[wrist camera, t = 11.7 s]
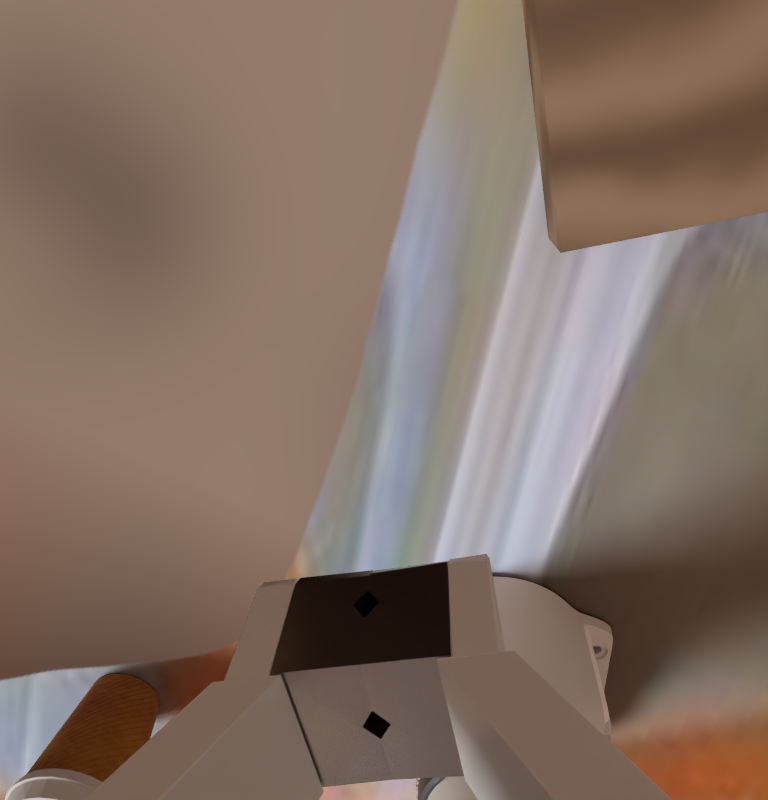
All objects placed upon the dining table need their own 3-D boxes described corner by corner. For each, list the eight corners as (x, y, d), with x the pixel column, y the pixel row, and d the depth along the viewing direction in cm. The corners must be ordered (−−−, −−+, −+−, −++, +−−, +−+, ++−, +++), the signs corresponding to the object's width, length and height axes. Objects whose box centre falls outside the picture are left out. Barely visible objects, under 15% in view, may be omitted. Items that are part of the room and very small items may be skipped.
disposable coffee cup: (107, 643, 56) (30, 775, 45) (197, 698, 58) (143, 836, 47) (56, 696, 59) (-27, 831, 49) (143, 746, 62) (81, 885, 51)
